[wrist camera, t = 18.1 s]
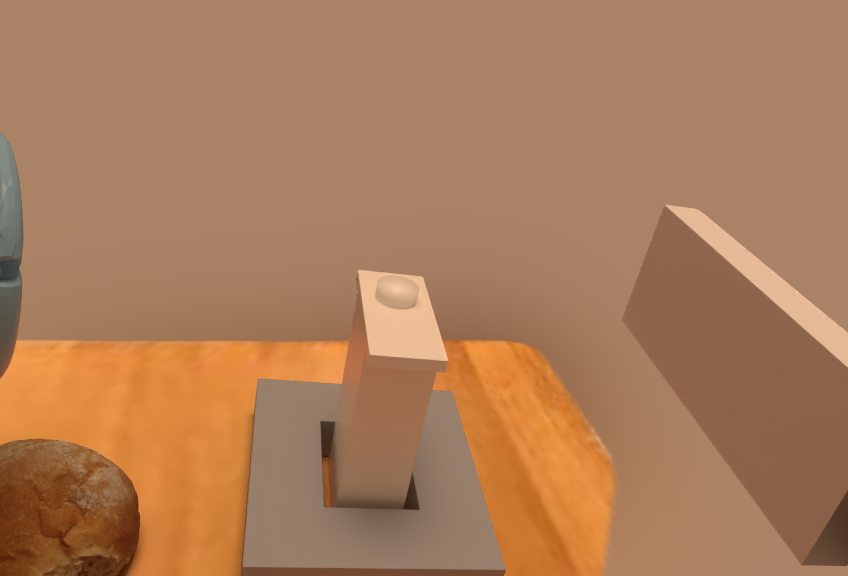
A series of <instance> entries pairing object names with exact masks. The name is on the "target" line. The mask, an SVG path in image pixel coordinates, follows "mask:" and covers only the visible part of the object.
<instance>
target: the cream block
mask: <svg viewBox="0 0 848 576" xmlns="http://www.w3.org/2000/svg"><path fill="white" fill-rule="evenodd" d="M356 284H357V291H358V293H357V299H356V305H355V311H354V317H353V323H352V328H351V334H350V340H349V346H348V351H347V357H346V363H345V369H344V375H343V380H342V386H341V392H340V398H339V404H338V409H337V415H336V421H335V427H334V433H333V438H332V444H331V450H330V456H329V462H328V479H329V502H330V507H334V508H368V509H402V510H403V508H404V504H405V500H406V496H407V492H408V488H409V484H410V479H411V475H412V471H413V467H414V463H415V459H416V455H417V451H418V447H419V442H420V438H421V434H422V430H423V426H424V422H425V418H426V414H427V410H428V406H429V401H430V397H431V393H432V389H433V385H434V381H435V377H436V373H437V372H446V368H447V364H448V358H447V355H446V352H445V348H444V345H443V342H442V339H441V335H440V332H439V329H438V325H437V322H436V319H435V316H434V312H433V309H432V306H431V302H430V299H429V296H428V292H427V289H426V286H425V282H424V279H423V277H420V276H411V275H401V274H392V273H382V272H373V271H364V270H358V272H357V277H356Z"/></svg>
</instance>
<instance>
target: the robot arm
mask: <svg viewBox="0 0 848 576" xmlns="http://www.w3.org/2000/svg"><path fill="white" fill-rule="evenodd" d="M22 248H23V218H22V201H21V190H20V182H19V176H18V170H17V166H16V162H15V156H14V153H13V150H12V148H11V145H10V143H9V141H8V140H7V138H6V137H5V136H4V135H2V134H1V133H0V379H1V377H2V376H3V375H4V373H5V372H6V370H7V368H8V366H9V364H10V361H11V359H12V356H13V353H14V349H15V344H16V339H17V334H18V327H19V320H20V311H21V298H22V279H21V273H20V270H19V267H20V265H21V258H22ZM622 321H623V323H624V324H625V325H626V327H627V328H628V329H629V331H630V332H631V333H632V335H633V336H634V338H635V339H636V340H637V341H638V343H639V344H640V346H641V347H642V348H643V349H644V351H645V353H646V354H647V355H648V357H649V358H650V359H651V361H652V362H653V363H654V365H655V366H656V368H657V369H658V370H659V371H660V373H661V374H662V376H663V377H664V378H665V380H666V381H667V382H668V384H669V385H670V386H671V388H672V389H673V391H674V392H675V393H676V395H677V396H678V397H679V398H680V400H681V401H682V403H683V404H684V406H685V407H686V408H687V409H688V411H689V412H690V414H691V415H692V416H693V418H694V419H695V421H696V422H697V423H698V425H699V426H700V427H701V429H702V430H703V432H704V433H705V434H706V436H707V437H708V438H709V440H710V441H711V442H712V444H713V445H714V447H715V448H716V449H717V450H718V452H719V453H720V455H721V456H722V457H723V459H724V460H725V462H726V463H727V464H728V466H729V467H730V468H731V469H732V471H733V472H734V474H735V475H736V477H737V478H738V479H739V480H740V482H741V483H742V485H743V486H744V487H745V489H746V490H747V492H748V493H749V494H750V496H751V497H752V498H753V500H754V501H755V502H756V504H757V505H758V506H759V508H760V509H761V510H762V512H763V513H764V515H765V516H766V517H767V519H768V520H769V522H770V523H771V524H772V526H773V527H774V528H775V530H776V531H777V532H778V534H779V535H780V536H781V538H782V539H783V541H784V542H785V543H786V544H787V546H788V547H789V549H790V550H791V551H792V553H793V554H794V555H795V557H796V558H797V560H798V561H799V562H800V564H801V565H824V566H825V565H827V566H828V565H829V566H847V565H848V333H847V332H846V331H845V330H843V329H842V328H841V327H840V326H839V325H838V324H836V323H835V322H834V321H833V320H831V319H830V318H829V317H828V316H827V315H825V314H824V313H823V312H822V311H821V310H819V309H818V308H817V307H816V306H814V305H813V304H812V303H811V302H810V301H808V300H807V299H806V298H805V297H804V296H802V295H801V294H800V293H799V292H797V291H796V290H795V289H794V288H793V287H791V286H790V285H789V284H788V283H787V282H785V281H784V280H783V279H782V278H781V277H779V276H778V275H777V274H775V272H773V271H772V270H771V269H770V268H768V267H767V266H766V265H764V264H763V263H762V262H761V261H760V260H759V259H758V258H756V257H755V256H754V255H753V254H751V253H750V252H749V251H748V250H747V249H745V248H744V247H743V246H742V245H741V244H739V243H738V242H737V241H736V240H734V239H733V238H732V237H731V236H730V235H728V234H727V233H726V232H725V231H724V230H722V229H721V228H720V227H719V226H718V225H716V224H715V223H714V222H713V221H711V220H710V219H709V218H708V217H707V216H705V215H704V214H703V213H702V212H701V211H699V210H698V209H691V208H685V207H678V206H670V205H664V207H663V210H662V213H661V216H660V218H659V221H658V224H657V226H656V229H655V232H654V234H653V237H652V240H651V242H650V245H649V248H648V251H647V253H646V256H645V259H644V261H643V264H642V267H641V269H640V272H639V275H638V278H637V280H636V283H635V286H634V288H633V291H632V294H631V296H630V299H629V302H628V305H627V307H626V310H625V313H624V315H623V318H622Z"/></svg>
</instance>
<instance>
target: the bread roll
mask: <svg viewBox="0 0 848 576" xmlns="http://www.w3.org/2000/svg"><path fill="white" fill-rule="evenodd" d="M139 527H140V514H139V512H138V496H137V493H136V491H135V489H134V486H133V484H132V481H131V480H130V479H129V478H128V476H127V475H126V474H125V473H124V472H123V471H122V470H121V469H120V468H119V467H118V466H117V465H116V464H114V463H113V462H112V461H110V460H108V459H107V458H105V457H104V456H102V455H101V454H99V453H97V452H96V451H94V450H91V449H89V448H87V447H84V446H80V445H77V444H75V443H70V442H65V441H58V440H45V439H27V440H18V441H12V442H9V443H6V444H3V445H0V576H117V574H118V573H119V572H120V570H121V569H122V568H123V566H124V565H125V564H127V563H129V562H130V558H131V557H132V555H133V553H134V551H135V549H136V546H137V543H138V538H139ZM63 556H64V557H63Z"/></svg>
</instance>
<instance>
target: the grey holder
mask: <svg viewBox="0 0 848 576" xmlns="http://www.w3.org/2000/svg"><path fill="white" fill-rule="evenodd" d="M341 386H342V384H332V383H317V382H303V381H288V380H273V379H258V382H257V392H256V401H255V410H254V422H253V434H252V446H251V458H250V470H249V482H248V494H247V507H246V519H245V531H244V543H243V555H242V567H241V576H504V574H505V571H506V569H505V565H504V562H503V559H502V555H501V552H500V549H499V545H498V542H497V539H496V535H495V532H494V529H493V525H492V522H491V519H490V515H489V512H488V509H487V505H486V502H485V499H484V495H483V492H482V489H481V485H480V482H479V479H478V475H477V472H476V469H475V465H474V462H473V459H472V455H471V452H470V449H469V445H468V442H467V439H466V435H465V432H464V429H463V426H462V422H461V419H460V416H459V412H458V409H457V406H456V402H455V399H454V396H453V392H450V391H436V390H432V393H431V397H430V401H429V406H428V410H427V414H426V418H425V422H424V426H423V430H422V434H421V438H420V442H419V447H418V451H417V455H416V459H415V463H414V467H413V471H412V475H411V479H410V484H409V488H408V492H407V496H406V500H405V504H404V510H402V509H368V508H334V507H324V501H323V476H322V456H330V450H331V444H332V438H333V433H334V427H335V421H336V415H337V409H338V404H339V398H340V392H341Z"/></svg>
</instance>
